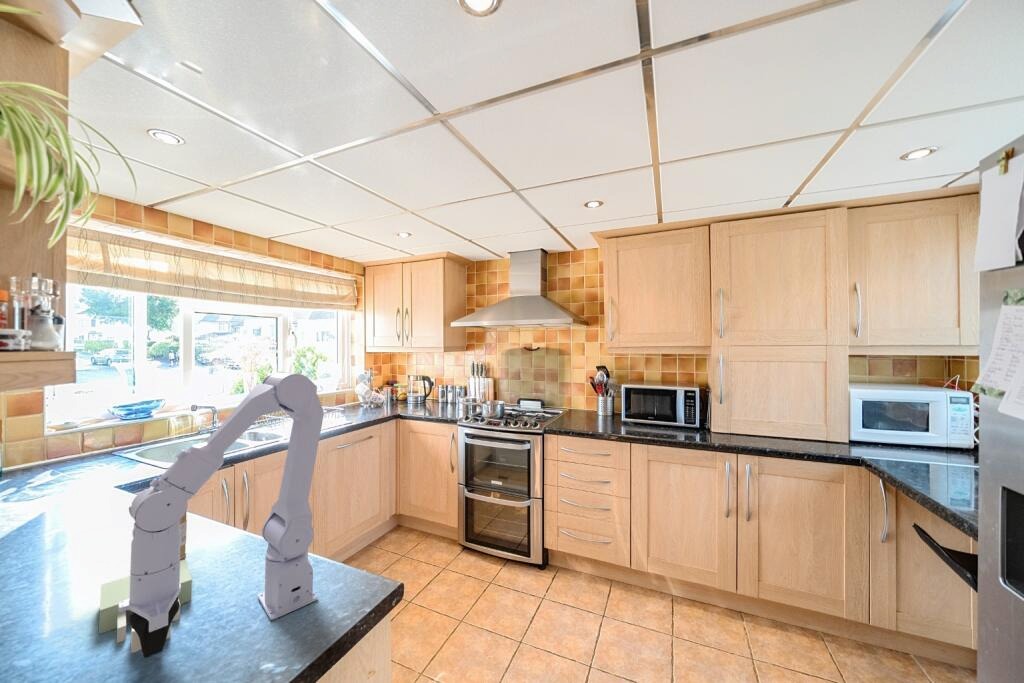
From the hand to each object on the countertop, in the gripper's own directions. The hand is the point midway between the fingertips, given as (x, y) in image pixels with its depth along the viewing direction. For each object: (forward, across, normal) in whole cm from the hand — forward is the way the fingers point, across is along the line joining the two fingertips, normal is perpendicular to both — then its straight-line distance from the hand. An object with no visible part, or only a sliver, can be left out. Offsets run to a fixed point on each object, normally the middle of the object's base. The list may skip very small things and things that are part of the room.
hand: (153, 652), depth 59 cm
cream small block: (+1, -6, 0) cm, 6 cm away
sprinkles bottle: (+1, -34, +5) cm, 35 cm away
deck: (+1, -16, 0) cm, 16 cm away
